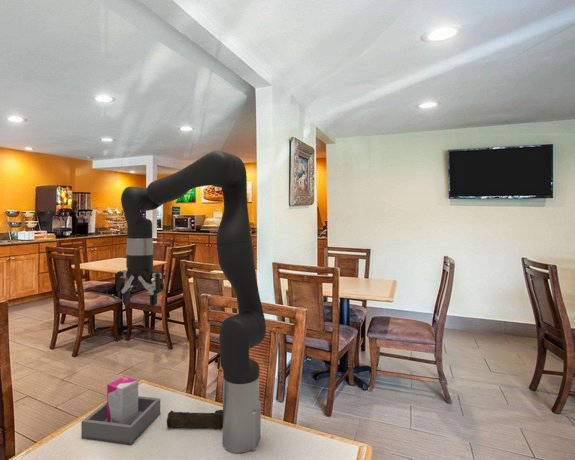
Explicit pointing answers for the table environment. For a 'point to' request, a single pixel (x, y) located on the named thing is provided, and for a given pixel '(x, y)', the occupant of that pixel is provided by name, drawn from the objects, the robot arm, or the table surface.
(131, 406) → the supplement box
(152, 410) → the bin
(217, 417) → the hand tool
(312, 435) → the table surface
